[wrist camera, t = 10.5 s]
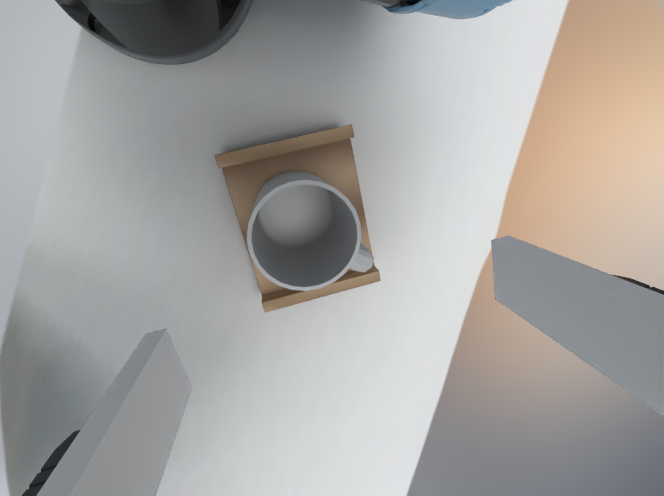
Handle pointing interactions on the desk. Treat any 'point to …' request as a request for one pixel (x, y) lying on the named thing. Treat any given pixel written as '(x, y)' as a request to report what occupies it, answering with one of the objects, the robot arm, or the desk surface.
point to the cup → (305, 233)
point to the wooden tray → (308, 156)
